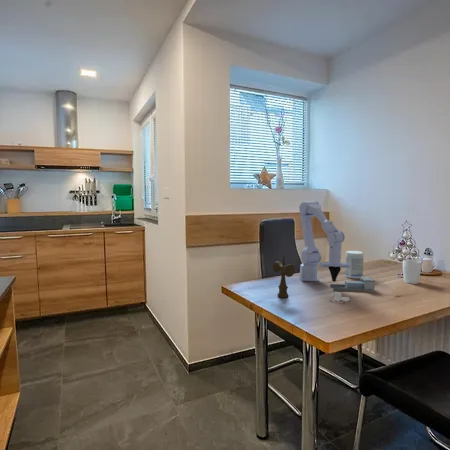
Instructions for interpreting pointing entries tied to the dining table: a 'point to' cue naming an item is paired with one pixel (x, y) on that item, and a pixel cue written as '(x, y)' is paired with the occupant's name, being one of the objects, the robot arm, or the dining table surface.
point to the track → (368, 286)
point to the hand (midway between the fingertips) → (333, 281)
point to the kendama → (283, 276)
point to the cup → (411, 270)
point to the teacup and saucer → (339, 297)
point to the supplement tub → (354, 264)
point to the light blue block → (354, 284)
